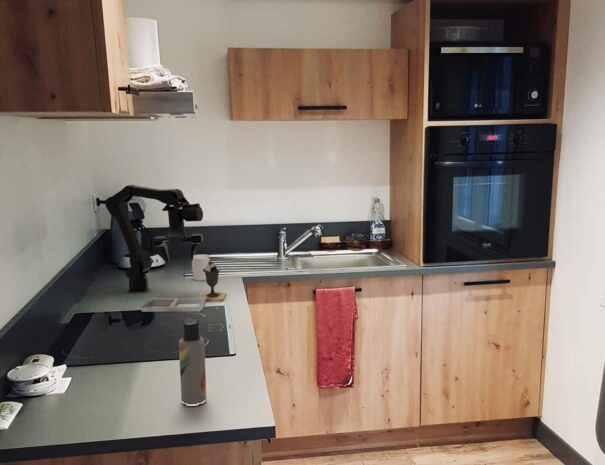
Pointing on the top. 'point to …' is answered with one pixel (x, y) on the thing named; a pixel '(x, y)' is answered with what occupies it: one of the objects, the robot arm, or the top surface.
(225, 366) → the top surface
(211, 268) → the sundae
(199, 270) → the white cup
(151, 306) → the divided tray
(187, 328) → the lotion bottle
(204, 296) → the coaster
